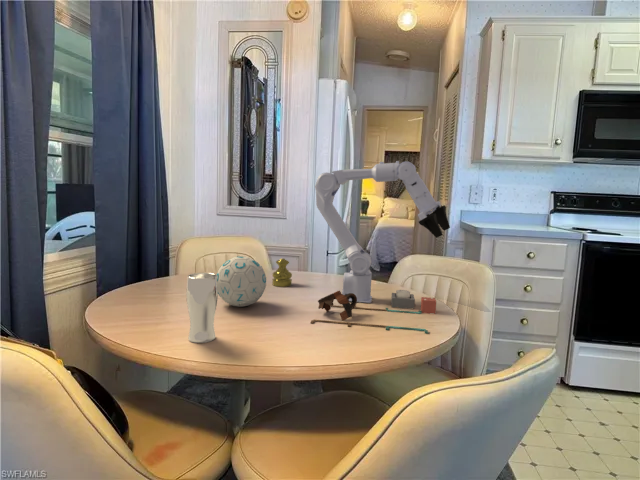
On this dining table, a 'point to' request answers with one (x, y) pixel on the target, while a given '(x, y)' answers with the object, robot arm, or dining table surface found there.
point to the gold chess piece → (282, 274)
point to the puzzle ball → (241, 281)
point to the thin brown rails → (372, 324)
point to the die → (428, 305)
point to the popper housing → (403, 301)
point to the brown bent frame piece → (340, 299)
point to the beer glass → (202, 306)
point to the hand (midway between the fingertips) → (443, 232)
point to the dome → (402, 294)
